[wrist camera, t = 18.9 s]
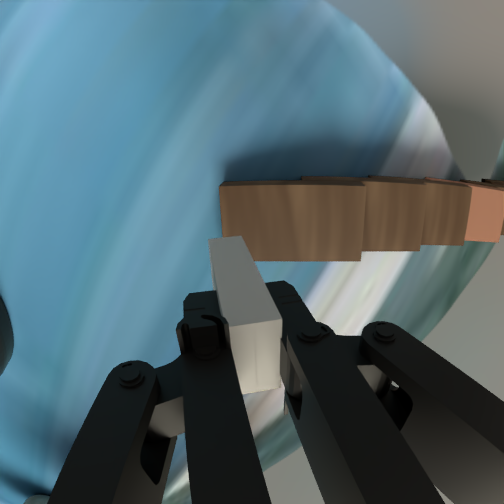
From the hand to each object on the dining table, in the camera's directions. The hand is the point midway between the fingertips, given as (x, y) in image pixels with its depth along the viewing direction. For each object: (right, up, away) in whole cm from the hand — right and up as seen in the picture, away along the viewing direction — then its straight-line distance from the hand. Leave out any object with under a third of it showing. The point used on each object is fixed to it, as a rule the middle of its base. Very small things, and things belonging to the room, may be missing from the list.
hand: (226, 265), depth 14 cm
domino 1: (-1, +3, +6) cm, 7 cm away
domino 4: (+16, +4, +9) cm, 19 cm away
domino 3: (+10, +4, +8) cm, 13 cm away
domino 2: (+5, +3, +7) cm, 9 cm away
